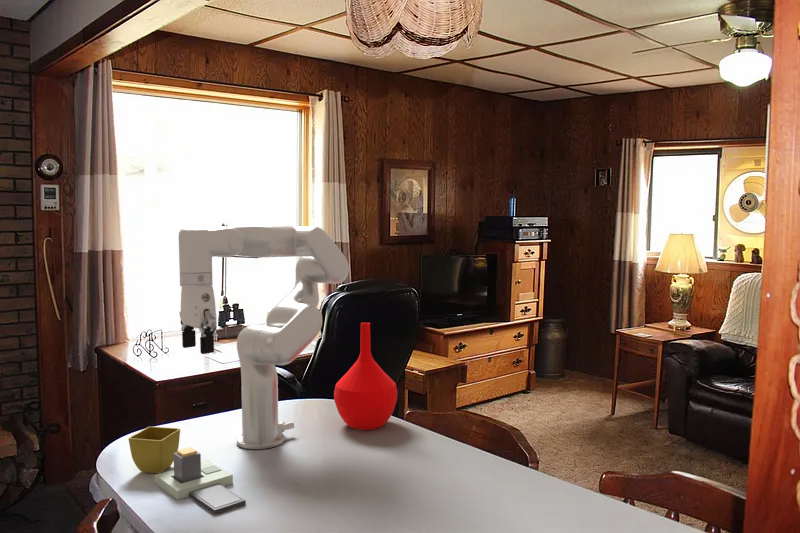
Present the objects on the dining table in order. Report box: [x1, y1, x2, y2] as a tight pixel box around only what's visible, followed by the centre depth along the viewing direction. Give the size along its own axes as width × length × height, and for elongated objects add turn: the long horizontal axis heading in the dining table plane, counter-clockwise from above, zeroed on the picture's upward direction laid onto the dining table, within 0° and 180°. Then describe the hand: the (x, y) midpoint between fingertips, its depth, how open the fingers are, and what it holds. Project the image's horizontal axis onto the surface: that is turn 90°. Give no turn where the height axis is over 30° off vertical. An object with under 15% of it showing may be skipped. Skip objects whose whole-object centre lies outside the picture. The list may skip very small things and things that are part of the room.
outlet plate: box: [154, 460, 234, 501], centre depth 150 cm, size 13×12×2 cm
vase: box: [333, 322, 398, 431], centre depth 191 cm, size 18×18×30 cm
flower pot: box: [128, 426, 181, 474], centre depth 158 cm, size 9×9×9 cm
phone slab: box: [189, 483, 247, 516], centre depth 141 cm, size 7×12×1 cm, turn 42°
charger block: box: [173, 447, 202, 483], centre depth 149 cm, size 4×4×8 cm
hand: (198, 350), depth 160 cm, fingers open, 9 cm apart
